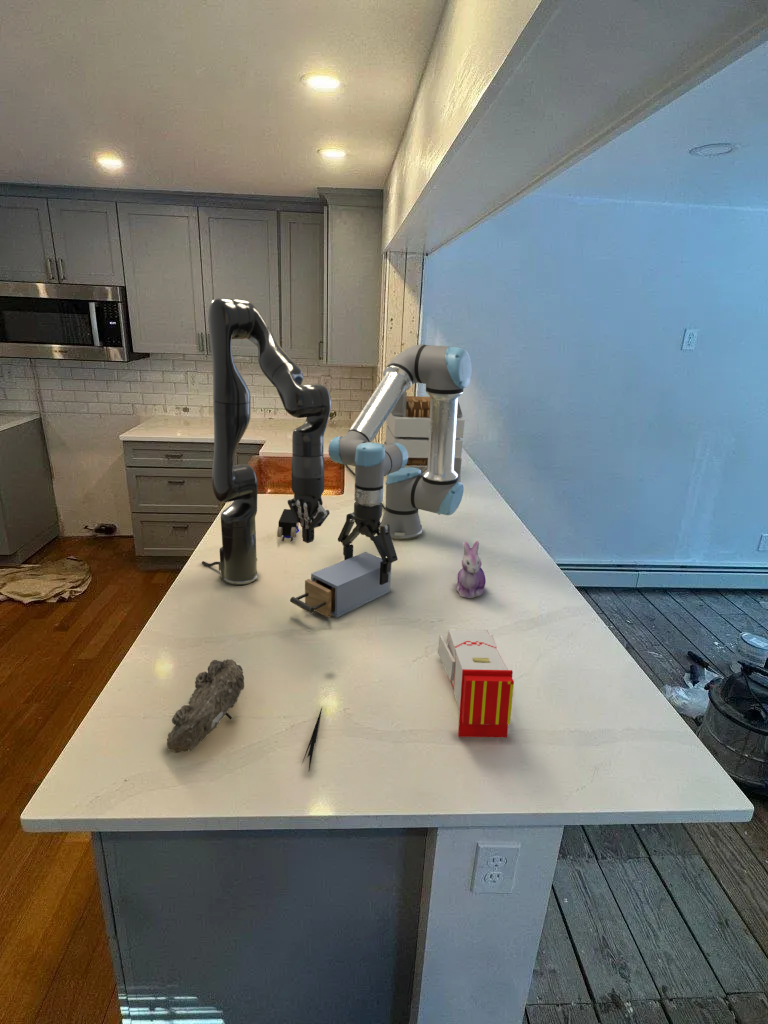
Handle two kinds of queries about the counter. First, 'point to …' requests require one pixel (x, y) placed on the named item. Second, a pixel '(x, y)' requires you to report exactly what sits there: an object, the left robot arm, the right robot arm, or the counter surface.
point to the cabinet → (354, 582)
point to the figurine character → (287, 525)
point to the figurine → (471, 573)
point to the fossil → (206, 705)
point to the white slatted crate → (418, 430)
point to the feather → (313, 740)
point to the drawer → (317, 598)
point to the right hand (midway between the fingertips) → (365, 575)
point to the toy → (478, 682)
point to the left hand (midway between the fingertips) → (308, 541)
